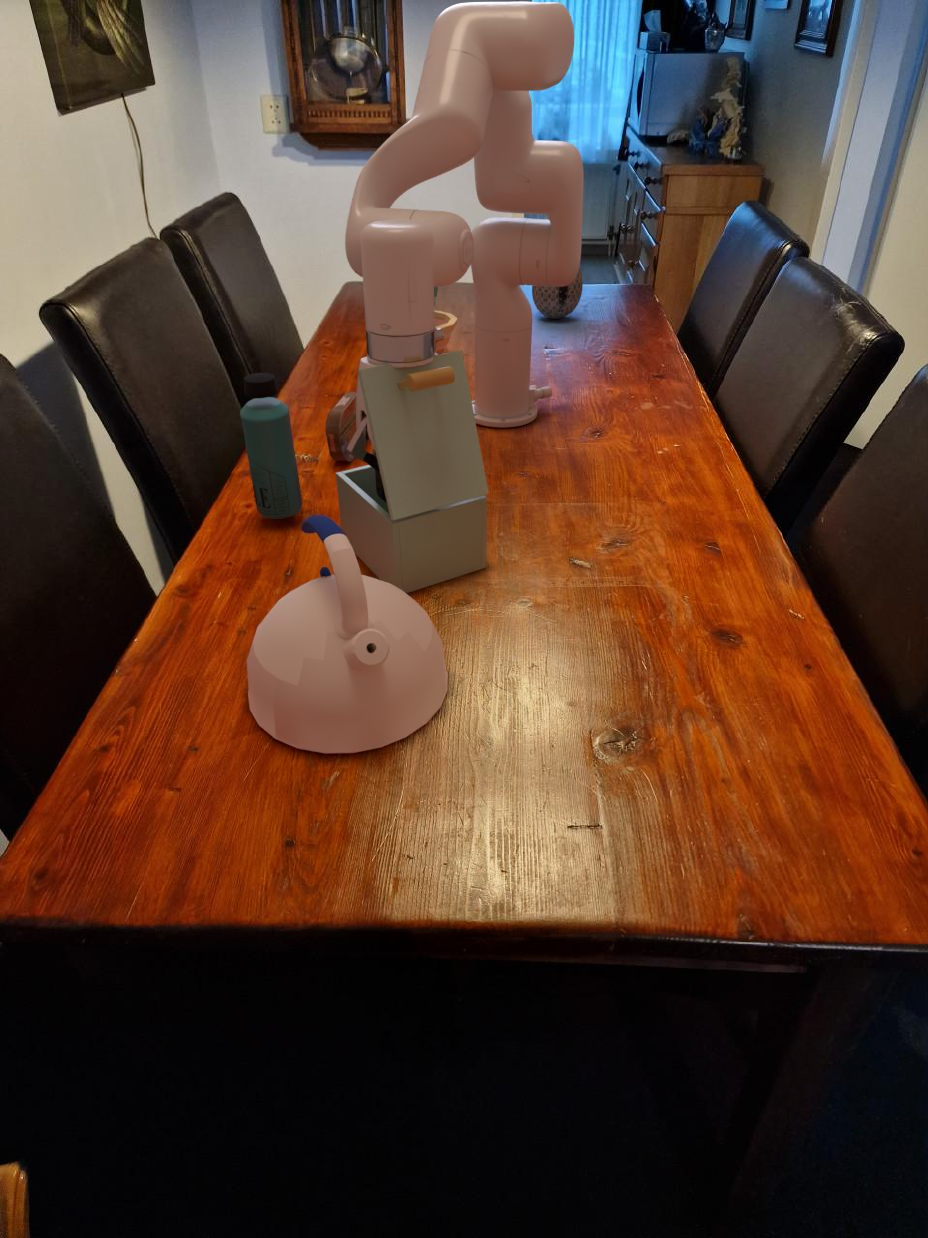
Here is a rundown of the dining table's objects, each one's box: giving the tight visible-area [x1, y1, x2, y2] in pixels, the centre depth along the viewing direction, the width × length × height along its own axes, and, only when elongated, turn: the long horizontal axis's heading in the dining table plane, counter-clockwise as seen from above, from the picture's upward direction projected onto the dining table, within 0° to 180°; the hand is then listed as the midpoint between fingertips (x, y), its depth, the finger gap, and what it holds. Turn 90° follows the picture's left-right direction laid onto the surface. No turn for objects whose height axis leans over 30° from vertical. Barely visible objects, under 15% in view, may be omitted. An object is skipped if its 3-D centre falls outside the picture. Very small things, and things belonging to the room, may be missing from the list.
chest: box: [335, 464, 488, 594], centre depth 102 cm, size 16×13×10 cm
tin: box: [325, 391, 357, 463], centre depth 129 cm, size 15×3×8 cm, turn 168°
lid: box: [357, 349, 489, 520], centre depth 89 cm, size 16×13×5 cm
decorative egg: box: [531, 266, 584, 320], centre depth 190 cm, size 12×12×15 cm
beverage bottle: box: [239, 372, 303, 520], centre depth 107 cm, size 6×7×20 cm
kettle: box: [246, 514, 449, 754], centre depth 78 cm, size 20×21×18 cm
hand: (406, 495), depth 100 cm, fingers open, 4 cm apart
